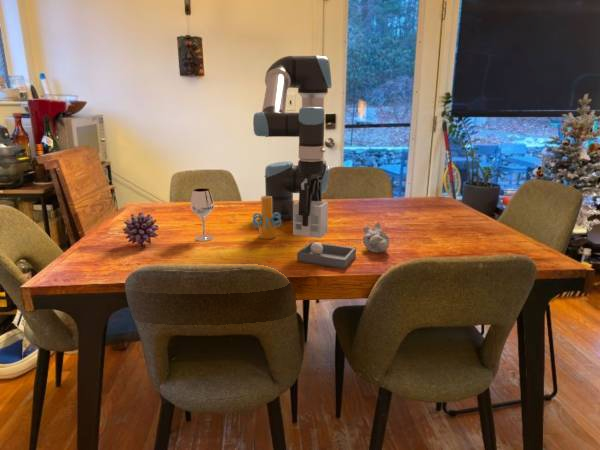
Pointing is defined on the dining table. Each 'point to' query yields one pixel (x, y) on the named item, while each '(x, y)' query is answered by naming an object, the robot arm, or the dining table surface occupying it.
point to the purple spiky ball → (140, 228)
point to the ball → (316, 248)
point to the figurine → (375, 239)
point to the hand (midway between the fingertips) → (310, 232)
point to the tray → (328, 256)
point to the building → (312, 219)
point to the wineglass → (202, 208)
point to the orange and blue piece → (266, 219)
